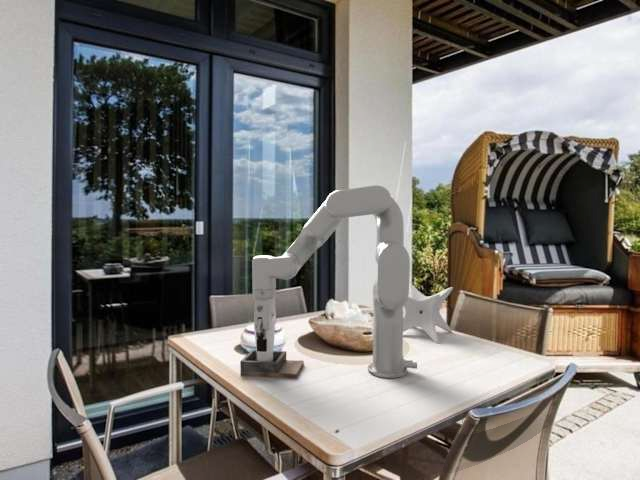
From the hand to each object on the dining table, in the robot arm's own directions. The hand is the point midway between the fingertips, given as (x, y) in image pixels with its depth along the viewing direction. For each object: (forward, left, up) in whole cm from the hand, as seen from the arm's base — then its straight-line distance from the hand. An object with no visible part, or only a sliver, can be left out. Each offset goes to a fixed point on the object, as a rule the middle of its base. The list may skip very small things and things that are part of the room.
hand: (264, 347), depth 139 cm
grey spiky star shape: (-55, -52, -8) cm, 76 cm away
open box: (-3, 0, -7) cm, 8 cm away
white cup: (0, 0, -5) cm, 5 cm away
